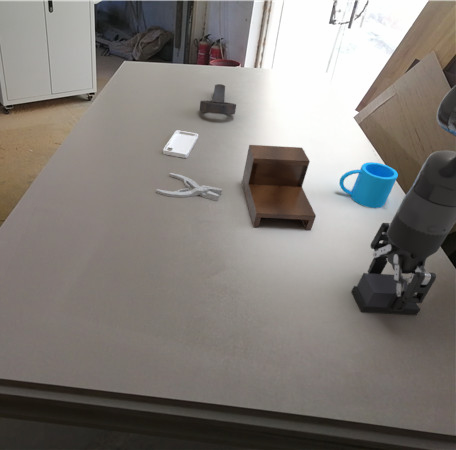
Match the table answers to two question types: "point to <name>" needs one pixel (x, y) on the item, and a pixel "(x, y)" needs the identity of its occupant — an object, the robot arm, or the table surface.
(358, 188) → the mug
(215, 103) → the dark gray mallet
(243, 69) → the table surface
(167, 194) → the pliers
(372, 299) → the dark block
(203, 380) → the table surface
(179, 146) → the phone case
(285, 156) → the wooden chair model
